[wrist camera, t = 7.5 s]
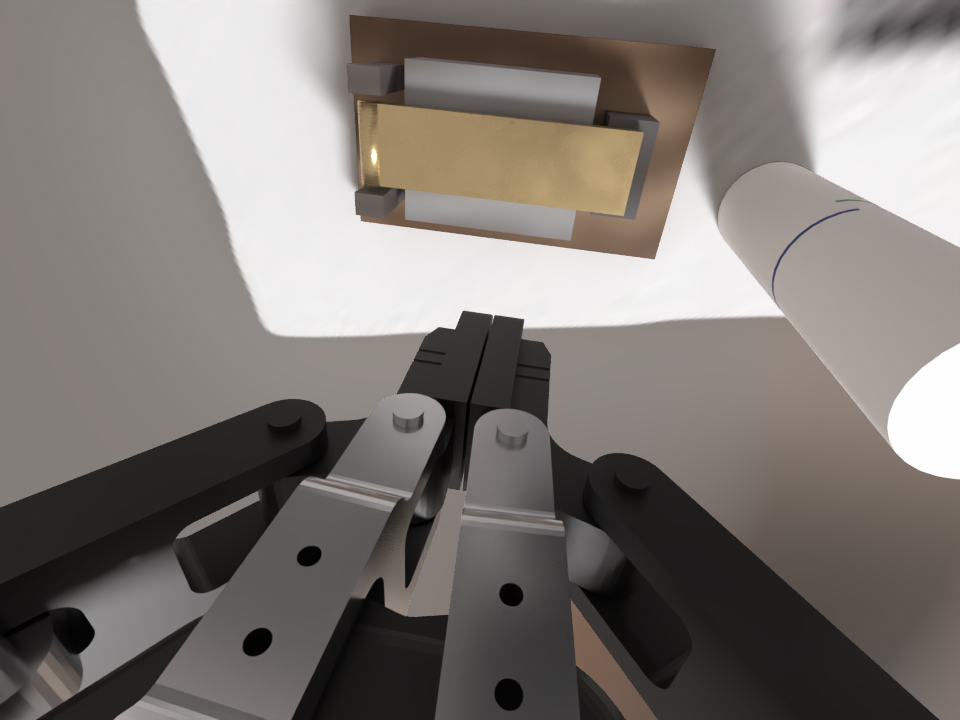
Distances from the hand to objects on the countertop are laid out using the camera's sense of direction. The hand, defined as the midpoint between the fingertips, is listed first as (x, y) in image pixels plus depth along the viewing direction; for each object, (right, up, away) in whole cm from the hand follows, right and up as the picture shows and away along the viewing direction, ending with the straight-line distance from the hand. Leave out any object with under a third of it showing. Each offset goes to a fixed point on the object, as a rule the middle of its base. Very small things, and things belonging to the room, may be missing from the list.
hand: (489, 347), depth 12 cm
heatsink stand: (+3, +17, +26) cm, 31 cm away
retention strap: (+1, +13, +20) cm, 24 cm away
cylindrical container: (+22, +11, +26) cm, 36 cm away
